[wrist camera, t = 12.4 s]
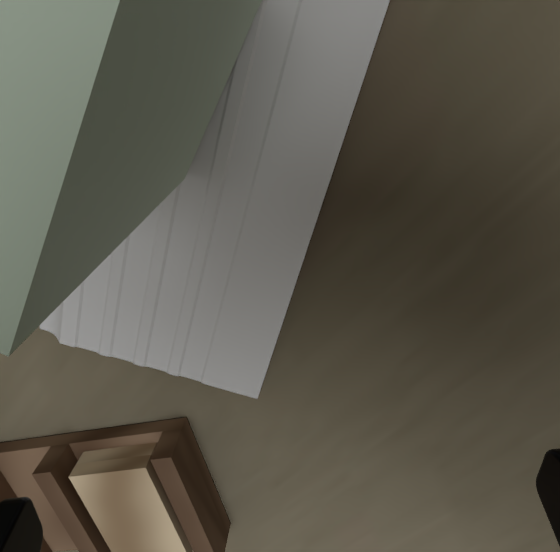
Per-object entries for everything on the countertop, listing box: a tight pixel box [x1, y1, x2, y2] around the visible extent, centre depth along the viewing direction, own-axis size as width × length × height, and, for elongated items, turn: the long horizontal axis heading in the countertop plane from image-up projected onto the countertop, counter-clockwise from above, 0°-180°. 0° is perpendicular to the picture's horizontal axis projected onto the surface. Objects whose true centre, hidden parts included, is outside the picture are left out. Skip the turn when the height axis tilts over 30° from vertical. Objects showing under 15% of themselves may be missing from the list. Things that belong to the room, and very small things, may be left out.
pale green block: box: [0, 0, 262, 357], centre depth 12 cm, size 3×6×11 cm, turn 153°
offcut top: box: [69, 455, 193, 552], centre depth 25 cm, size 4×6×1 cm, turn 14°
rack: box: [0, 417, 231, 552], centre depth 26 cm, size 12×8×3 cm, turn 104°
